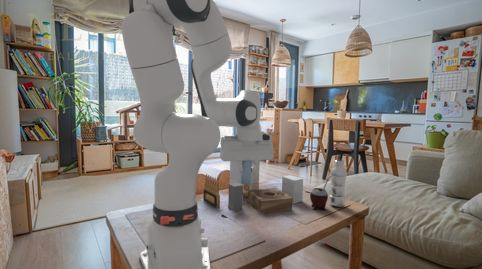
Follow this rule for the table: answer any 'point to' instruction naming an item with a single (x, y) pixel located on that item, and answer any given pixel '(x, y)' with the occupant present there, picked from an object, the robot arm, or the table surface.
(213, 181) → the ammunition clip
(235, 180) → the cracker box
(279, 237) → the table surface
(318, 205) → the mate gourd
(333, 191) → the plastic bottle
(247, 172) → the blue-gray rectangular block
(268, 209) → the socket block
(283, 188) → the small box
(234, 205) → the square peg
